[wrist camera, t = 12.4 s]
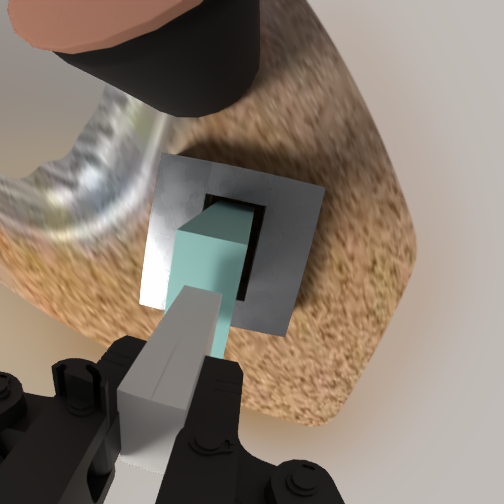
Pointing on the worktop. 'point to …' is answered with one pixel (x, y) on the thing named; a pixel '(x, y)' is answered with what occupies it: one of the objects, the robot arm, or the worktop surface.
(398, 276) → the worktop surface
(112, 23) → the coffee jar
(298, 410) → the worktop surface
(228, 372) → the robot arm
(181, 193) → the block
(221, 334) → the keyed peg
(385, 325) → the worktop surface
